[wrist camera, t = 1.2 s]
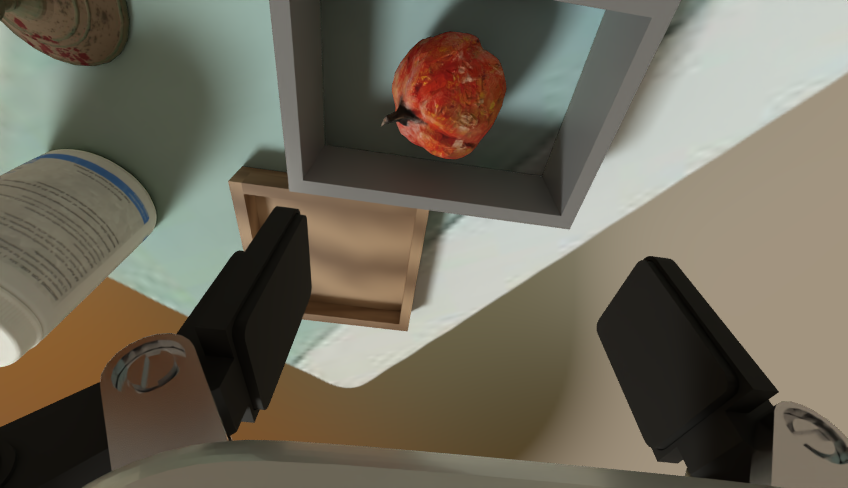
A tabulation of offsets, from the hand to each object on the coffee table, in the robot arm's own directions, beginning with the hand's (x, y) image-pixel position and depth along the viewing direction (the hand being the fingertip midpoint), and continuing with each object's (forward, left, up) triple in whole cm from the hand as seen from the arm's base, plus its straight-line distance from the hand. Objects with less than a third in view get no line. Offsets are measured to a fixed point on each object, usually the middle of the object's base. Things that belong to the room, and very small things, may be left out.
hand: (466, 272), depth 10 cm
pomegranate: (0, 0, -20) cm, 20 cm away
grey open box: (0, 0, -20) cm, 20 cm away
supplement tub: (+14, -29, -20) cm, 38 cm away
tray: (+17, -8, -20) cm, 27 cm away
